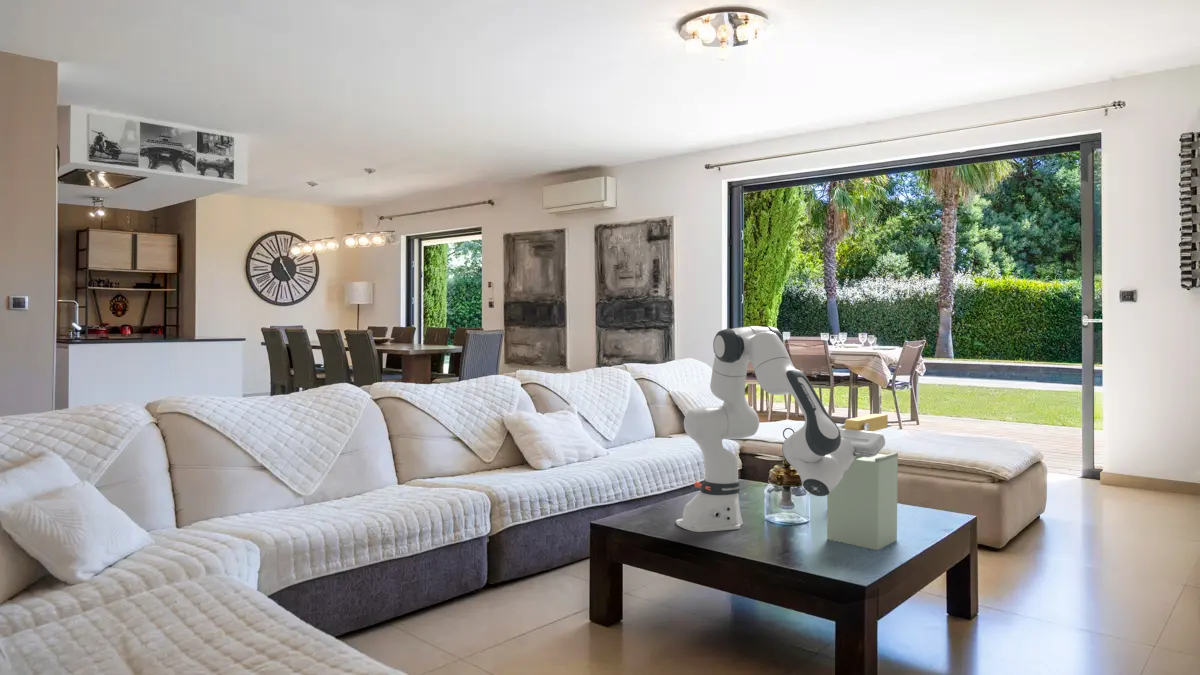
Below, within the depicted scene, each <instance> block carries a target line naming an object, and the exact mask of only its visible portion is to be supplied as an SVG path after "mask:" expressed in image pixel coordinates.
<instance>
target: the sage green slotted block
mask: <svg viewBox="0 0 1200 675" xmlns="http://www.w3.org/2000/svg"><path fill="white" fill-rule="evenodd" d="M898 461H899V460H898V452H891V453H888V454H883V453H878V454H877V455H876V456H873V457H869V458H868V457H860V456H856V458H855V459H854V461H853V462H852V464H851V466H850V467H849V469H848V470H847V471H846V472H844V476H843V478H842V480H841V481H840V483H839V484H838V485H837V487H836V488H835V489H834V490H833V491H832V492H831V493H830V494H828V495H827V496H826V497H827V498H826V499H827V506H826V507H827V513H826V514H827V515H826V516H827V517H826V518H827V524H826V527H827V528H826V532H827V534H826V540H827V539H829V540H828V541H832V540H833V542H837V541H838V543H841V542H843V543H842V544H846V543H847V544H846V545H851V544H852V545H851V546H855V545H856V547H860V548H866V549H870V550H875V551H879V550H881V549H883V548H885V547H887V546H888V545H891V544H893V543H894V542H897V541H898V471H899V470H898V466H899V463H898Z"/></svg>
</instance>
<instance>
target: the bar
mask: <svg viewBox="0 0 1200 675" xmlns="http://www.w3.org/2000/svg"><path fill="white" fill-rule="evenodd" d="M888 415H889V414H886V413H885V414H884V413H883V414H882V413H871V414H867V415H862V416H861V415H860V416H857V417H853V418H847V419H845V422H844V423H845V429H851V430H860V431H862V425H863V423H866V424H869V427H870V428H869V430H868V431H869V432H877V431H879V430H880V431H881V430H884V429H888V420H889V419H888V417H889V416H888Z"/></svg>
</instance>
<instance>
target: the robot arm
mask: <svg viewBox="0 0 1200 675" xmlns="http://www.w3.org/2000/svg"><path fill="white" fill-rule="evenodd" d="M712 348H713V353H714V359H713V360H714V361H713V365H712V372H711V378H710V383H709V385H710V387H709V388H710V391H711V393H712V395H713V396H714V397H716V398H717V399H718V400H721V401H723V403H722V405H720V406H719V405H718V406H701V407H696V408H693V409H689V410H688V411H687V412H686V414H685V416H684V419H683V428H684V430H685V431H684V432H685V433H686V435H687V436H688V437H689V438H691V439H692V440H693V441H694V442H695V443H696V444H697V445H698V448H700V450H701V453H702V456H703V464H704V480H703V481H702V482H700V481H695V482H694V487H695V488H697V489H700V490H699V492H698V493H697V494H696V495H695V496H694V497H693V498H692V499H691V500H689V501H688V502H687V503H686V504H685V505H684V508H683V513H682V518H678V519H676V520H675V524H676V525H677V526H678V527H680V528H682V529H685V530H688V531H691V532H696V533H707V532H717V531H719V532H720V531H730V530H733V531H734V530H739V529H741V526H742V525H743V523H744V522H743V519H742V514H741V507H740V500H739V496H740V480H739V460H738V457H737V455H736V454H735V453H734V452H732V451H730V450H729V449H727V448H725V447H724V446H723V445H724V444H723V440H733V439H734V440H736V439H745V438H748V437H752V436H754V435H756V433H757V432H758V429H759V427H760V418H759V414H758V413H757V411H756V410H755V409H754V408H753V407H751V406H750V404H749V403H748V401H747V399H746V392H745V391H746V382H747V381H746V380H747V375H748V374H747V373H748V368H749V367H748V366H749V363H751V365H752V368H753V371H754V375H755V377H756V380H757V383H758V385H759V387H760V388H761V389H762V390H763V391H764V392H766V393H768V394H770V395H774V396H781V395H782V396H783V395H784V396H785V395H791V396H792V397H793V398H794V400H795V402H796V403H797V406H798V407H799V409H800V411H801V413H802V415H803V417H804V424H803V426H802V427H800V428H799V429H798V430H797V431H795V432H794V433H792V434H791V435H790V436H788V437H787V438H785V439H784V441H783V442H782V448H781V451H782V455H783V457H784V459H785V461H786V462H787V463H788V464H789V466H791V467H792V468H793V469H795V471H796V472H797V474H798V475H799V477H800V480H801V485H802V487H803V489H804V490H805V491H806V492H807V493H808V494H811V495H813V496H815V497H825V496H826V497H827V496H828V494H830V493H831V492H832V491H833V490H834V489H835V488H836V487H837V485H838V484H839V483H840V481H841V480H842V478H843V476H844V472H846V471H847V470H848V469H849V467H850V466H851V464H852V462H853V461H854V459H855V458H856V456H860V457H868V458H869V457H873V456H876V455H877V454H880V452H881V451H882V450H883V449H884V447H885V446H886V439H885V435H884V434H883V433H882V432H877V431H872V432H869V431H868V430H869V428H870V427H869V424H866V423H863V425H862V431H860V430H851V429H845V422H844V423H843V424H841V425H840V426H838V425H837V423H836V422H835V421H834V420H833V418H831V416H830V415H829V414H828V412H827V410H826V408H825V406H824V405H823V403H822V401H821V399H820V397H819V395H818V394H817V392H816V390H815V388H814V387H813V385H812V384H811V382H810V380H809V379H808V377H807V376H806V374H804V372H803V371H801V370H799V369H796V367H795V366H794V364H793V362H792V359H791V357H790V355H789V352H788V350H787V348H786V346H785V345H784V339H783V335H782V333H781V332H780V330H779V329H778V328H777V327H773V326H769V325H764V326H760V325H759V326H758V325H746V326H742V327H741V326H740V327H735V328H725V329H721V330H720V331H718V332H716V334H715V336H714V338H713V345H712Z"/></svg>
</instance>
